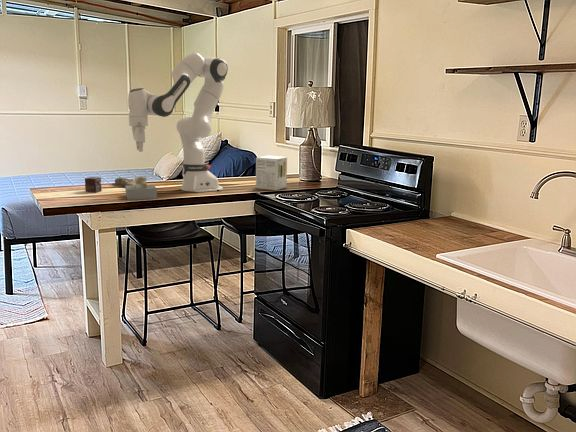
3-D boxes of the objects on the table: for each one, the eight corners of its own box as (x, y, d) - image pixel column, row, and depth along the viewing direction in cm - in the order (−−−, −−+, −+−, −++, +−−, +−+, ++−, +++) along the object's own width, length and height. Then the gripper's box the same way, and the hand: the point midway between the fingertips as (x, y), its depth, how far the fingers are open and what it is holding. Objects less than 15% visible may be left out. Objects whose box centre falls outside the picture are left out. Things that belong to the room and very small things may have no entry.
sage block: (145, 186, 283) (145, 176, 282) (146, 187, 279) (146, 177, 278) (135, 186, 281) (134, 176, 280) (136, 188, 277) (135, 178, 276)
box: (95, 193, 290) (95, 178, 289) (85, 192, 291) (84, 178, 290) (101, 191, 296) (101, 177, 294) (91, 190, 297) (90, 176, 296)
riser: (153, 194, 289) (153, 184, 288) (157, 198, 278) (156, 188, 277) (125, 195, 284) (125, 185, 283) (127, 199, 273) (127, 189, 272)
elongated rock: (139, 195, 295) (156, 194, 302) (140, 185, 294) (157, 184, 300) (109, 183, 319) (126, 182, 326) (110, 174, 318) (126, 173, 325)
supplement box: (276, 190, 308) (276, 158, 305) (255, 188, 314) (255, 157, 311) (287, 187, 320) (287, 156, 316) (266, 185, 326) (267, 155, 322)
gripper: (147, 123, 265) (148, 152, 268) (142, 121, 284) (144, 148, 286) (133, 123, 263) (135, 153, 266) (129, 121, 281) (131, 148, 284)
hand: (139, 150), depth 276 cm, fingers open, 8 cm apart
